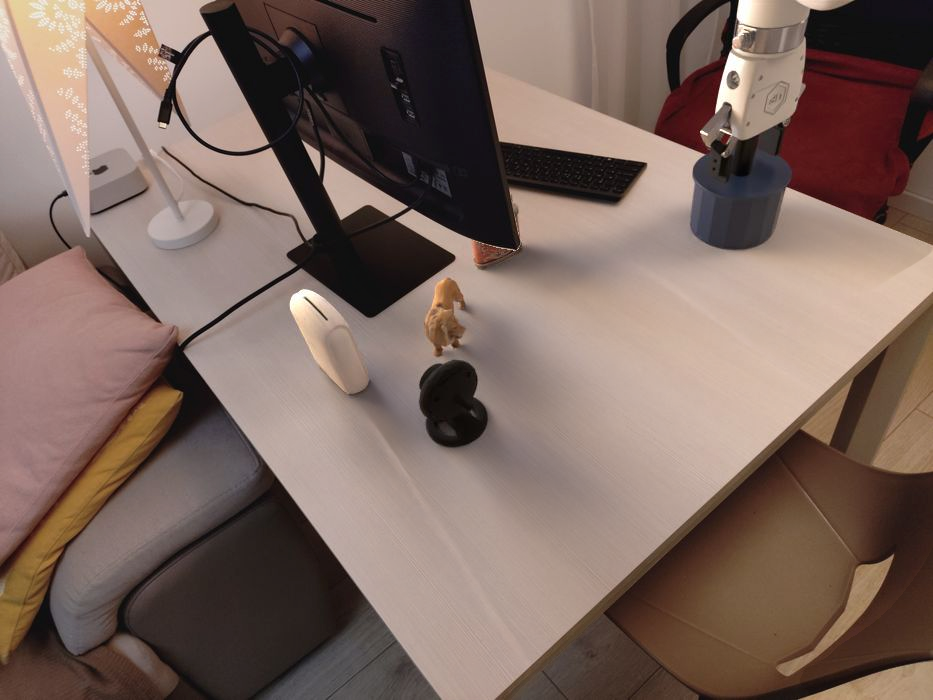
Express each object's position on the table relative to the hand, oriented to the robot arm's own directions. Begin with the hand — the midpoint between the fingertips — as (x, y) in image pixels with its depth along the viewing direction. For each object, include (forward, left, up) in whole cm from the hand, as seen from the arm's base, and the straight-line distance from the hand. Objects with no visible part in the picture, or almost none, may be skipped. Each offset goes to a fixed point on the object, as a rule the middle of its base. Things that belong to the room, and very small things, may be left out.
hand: (743, 164), depth 85 cm
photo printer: (+11, +59, -10) cm, 61 cm away
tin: (0, 0, -10) cm, 10 cm away
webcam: (-6, +51, -10) cm, 52 cm away
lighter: (+17, +30, -10) cm, 36 cm away
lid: (0, 0, -2) cm, 2 cm away
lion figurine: (+7, +44, -10) cm, 46 cm away
